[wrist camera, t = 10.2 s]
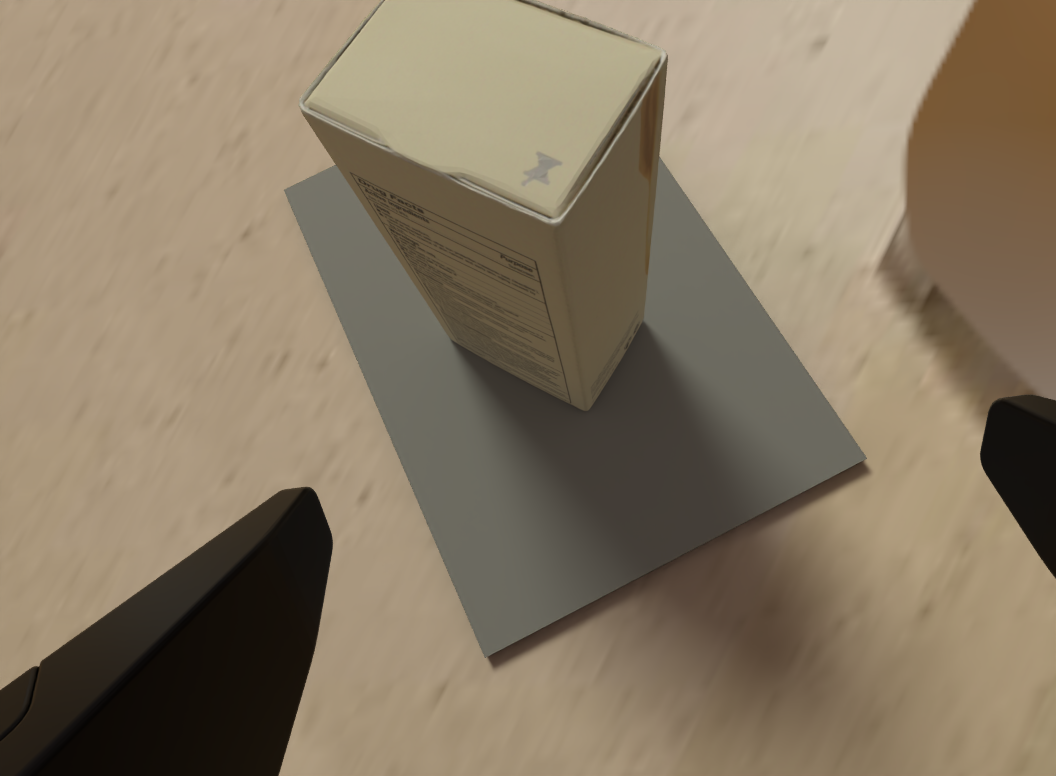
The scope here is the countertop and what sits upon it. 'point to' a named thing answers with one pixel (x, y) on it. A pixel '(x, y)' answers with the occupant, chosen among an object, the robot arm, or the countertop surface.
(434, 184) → the skincare box
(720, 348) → the slate mat
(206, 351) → the countertop surface
